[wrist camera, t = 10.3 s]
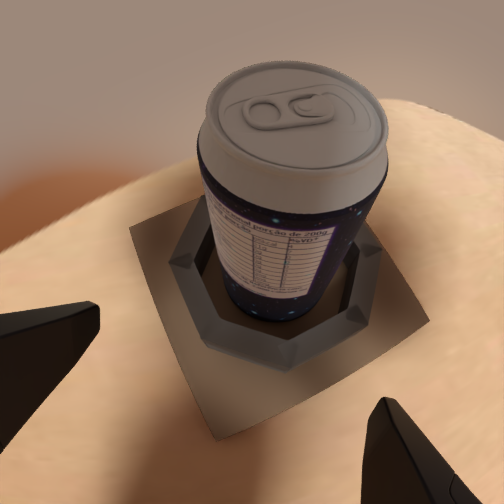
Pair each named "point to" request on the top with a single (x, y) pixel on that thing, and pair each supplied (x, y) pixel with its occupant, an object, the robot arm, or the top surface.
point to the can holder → (267, 333)
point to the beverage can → (288, 180)
